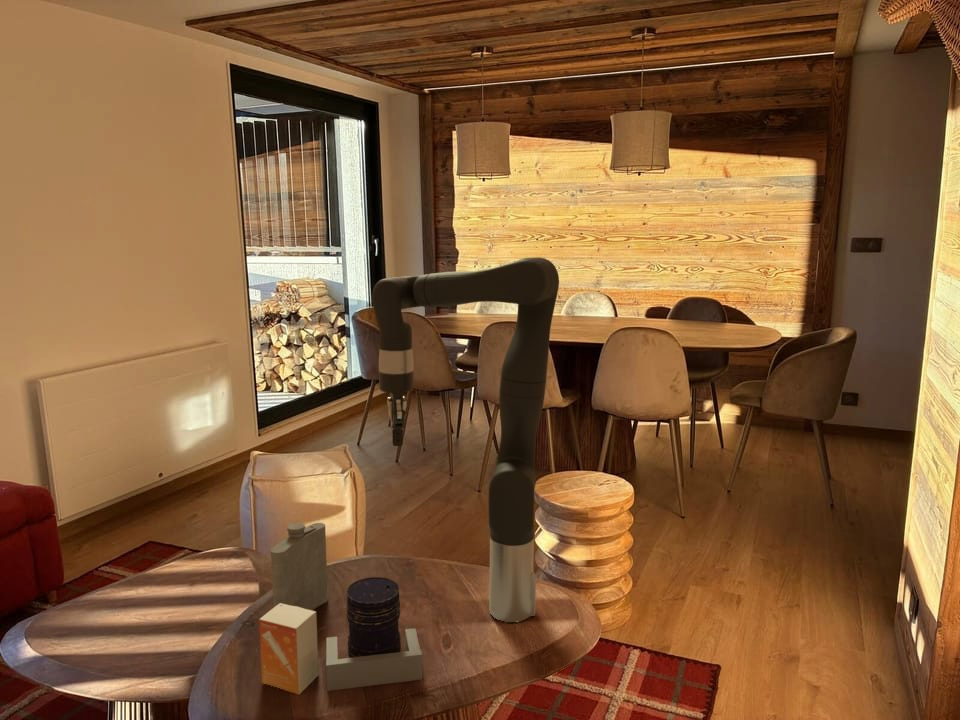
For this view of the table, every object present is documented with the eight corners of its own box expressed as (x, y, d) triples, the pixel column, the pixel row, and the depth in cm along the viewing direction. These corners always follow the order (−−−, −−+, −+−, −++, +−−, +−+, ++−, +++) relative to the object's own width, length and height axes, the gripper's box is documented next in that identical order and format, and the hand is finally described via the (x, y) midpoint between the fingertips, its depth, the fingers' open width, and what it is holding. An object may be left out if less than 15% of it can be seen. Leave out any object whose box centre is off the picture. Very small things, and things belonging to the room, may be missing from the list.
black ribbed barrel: (353, 683, 132) (351, 607, 129) (343, 653, 141) (341, 581, 138) (407, 671, 135) (406, 597, 132) (393, 643, 144) (392, 573, 141)
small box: (261, 685, 131) (257, 618, 128) (283, 665, 137) (279, 601, 134) (299, 696, 128) (296, 628, 125) (319, 675, 134) (317, 610, 131)
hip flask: (283, 635, 147) (279, 542, 143) (267, 630, 148) (263, 538, 145) (330, 598, 161) (327, 513, 157) (315, 594, 163) (312, 510, 159)
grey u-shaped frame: (415, 646, 143) (415, 623, 142) (422, 679, 133) (422, 654, 132) (327, 656, 139) (326, 632, 138) (327, 690, 129) (326, 665, 128)
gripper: (416, 374, 154) (417, 453, 157) (410, 362, 166) (410, 435, 170) (381, 375, 152) (382, 455, 155) (376, 363, 165) (378, 437, 168)
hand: (397, 444), depth 162 cm, fingers closed
